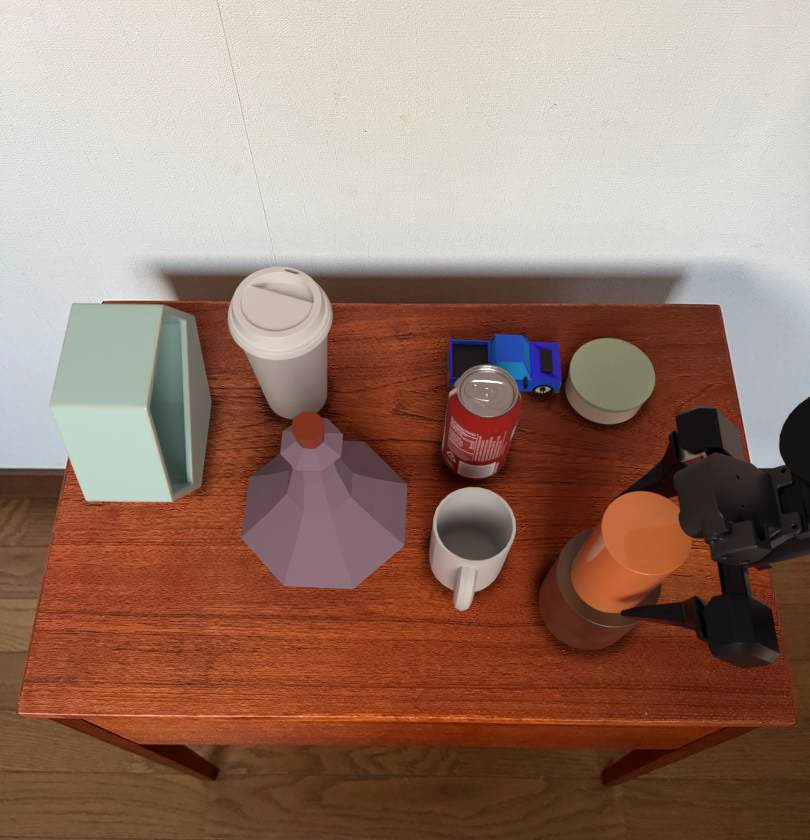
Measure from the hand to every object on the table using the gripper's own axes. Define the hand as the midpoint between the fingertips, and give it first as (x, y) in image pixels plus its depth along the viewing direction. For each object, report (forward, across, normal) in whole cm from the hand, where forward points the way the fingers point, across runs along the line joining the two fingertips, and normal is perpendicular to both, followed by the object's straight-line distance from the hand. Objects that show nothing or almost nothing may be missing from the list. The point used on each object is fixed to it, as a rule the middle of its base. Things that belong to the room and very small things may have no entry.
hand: (617, 558), depth 58 cm
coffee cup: (+30, -23, -11) cm, 39 cm away
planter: (+39, -16, -20) cm, 46 cm away
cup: (+17, -3, +1) cm, 17 cm away
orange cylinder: (+3, 0, +3) cm, 4 cm away
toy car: (+14, -26, +4) cm, 30 cm away
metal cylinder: (+9, 0, +10) cm, 13 cm away
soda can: (+16, -16, +2) cm, 23 cm away
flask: (+26, -7, -8) cm, 29 cm away
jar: (+6, -24, +12) cm, 28 cm away
